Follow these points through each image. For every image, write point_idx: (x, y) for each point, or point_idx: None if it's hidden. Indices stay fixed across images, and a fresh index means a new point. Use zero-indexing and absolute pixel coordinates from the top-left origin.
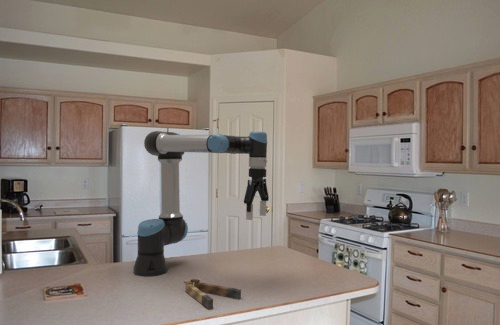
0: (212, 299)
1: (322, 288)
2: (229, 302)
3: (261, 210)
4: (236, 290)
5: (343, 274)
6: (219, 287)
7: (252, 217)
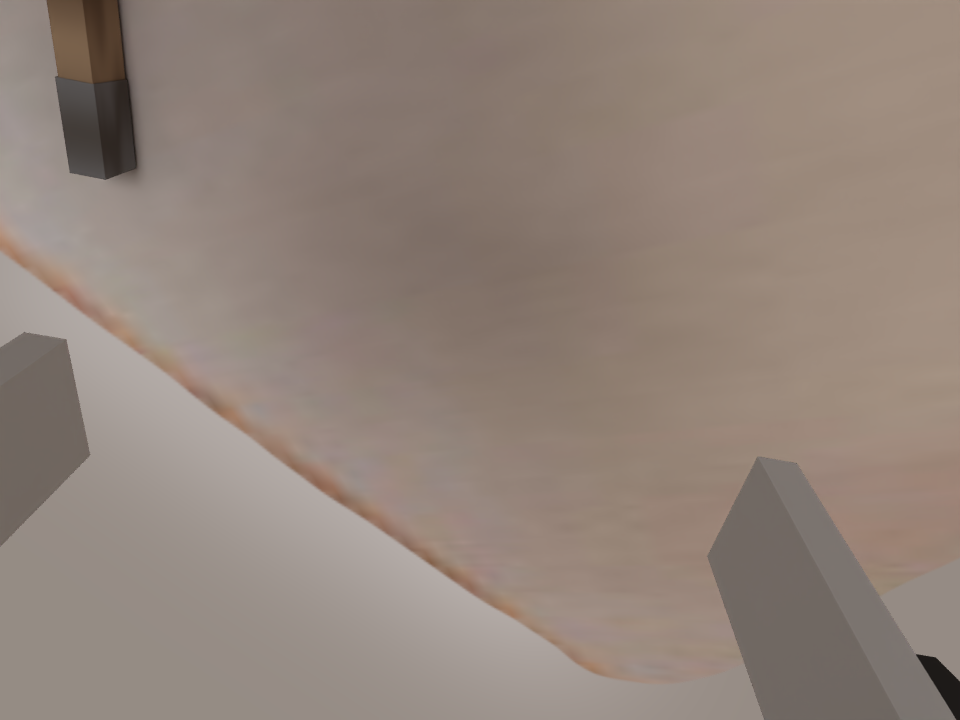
0: None
1: (492, 520)
2: (37, 120)
3: (787, 584)
4: (70, 155)
5: None
6: (49, 3)
7: (38, 486)
